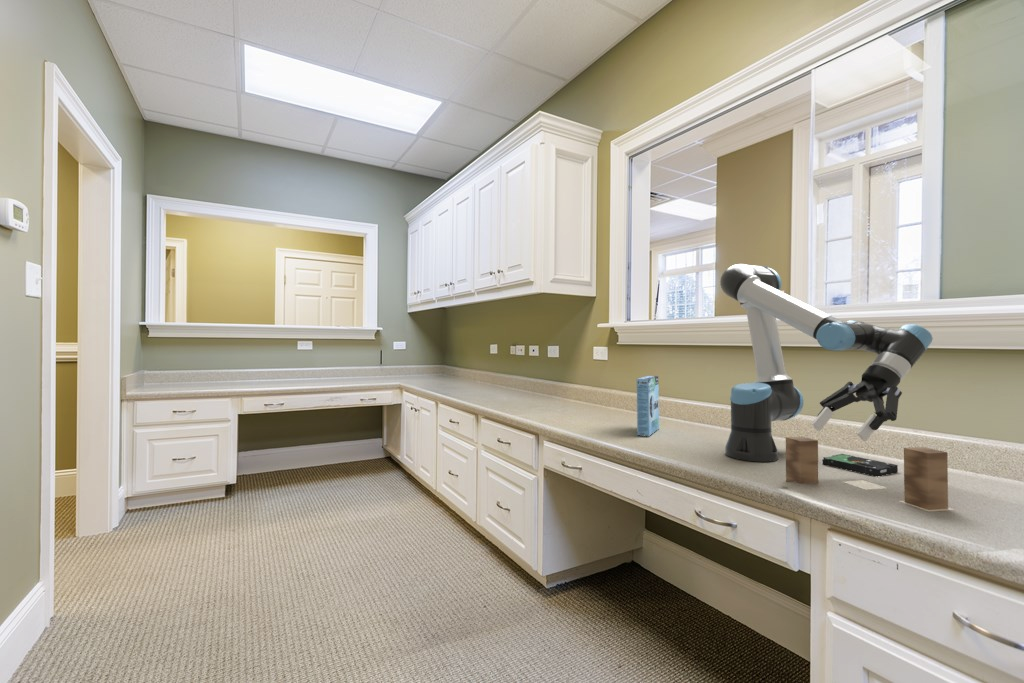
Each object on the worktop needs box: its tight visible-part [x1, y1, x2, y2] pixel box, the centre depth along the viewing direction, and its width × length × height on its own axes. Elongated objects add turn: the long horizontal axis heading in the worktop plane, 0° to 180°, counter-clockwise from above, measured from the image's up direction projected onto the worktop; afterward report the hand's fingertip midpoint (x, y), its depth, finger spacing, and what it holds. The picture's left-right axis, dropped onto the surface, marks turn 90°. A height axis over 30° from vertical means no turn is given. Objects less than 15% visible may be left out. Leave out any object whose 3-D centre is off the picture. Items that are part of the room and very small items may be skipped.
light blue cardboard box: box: [636, 375, 660, 437], centre depth 188 cm, size 20×5×23 cm, turn 150°
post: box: [785, 436, 819, 484], centre depth 118 cm, size 5×5×12 cm
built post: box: [903, 446, 949, 510], centre depth 99 cm, size 5×5×12 cm
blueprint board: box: [843, 479, 955, 512], centre depth 107 cm, size 23×18×1 cm
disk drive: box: [821, 453, 899, 477], centre depth 133 cm, size 10×3×15 cm
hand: (836, 432), depth 118 cm, fingers open, 13 cm apart
